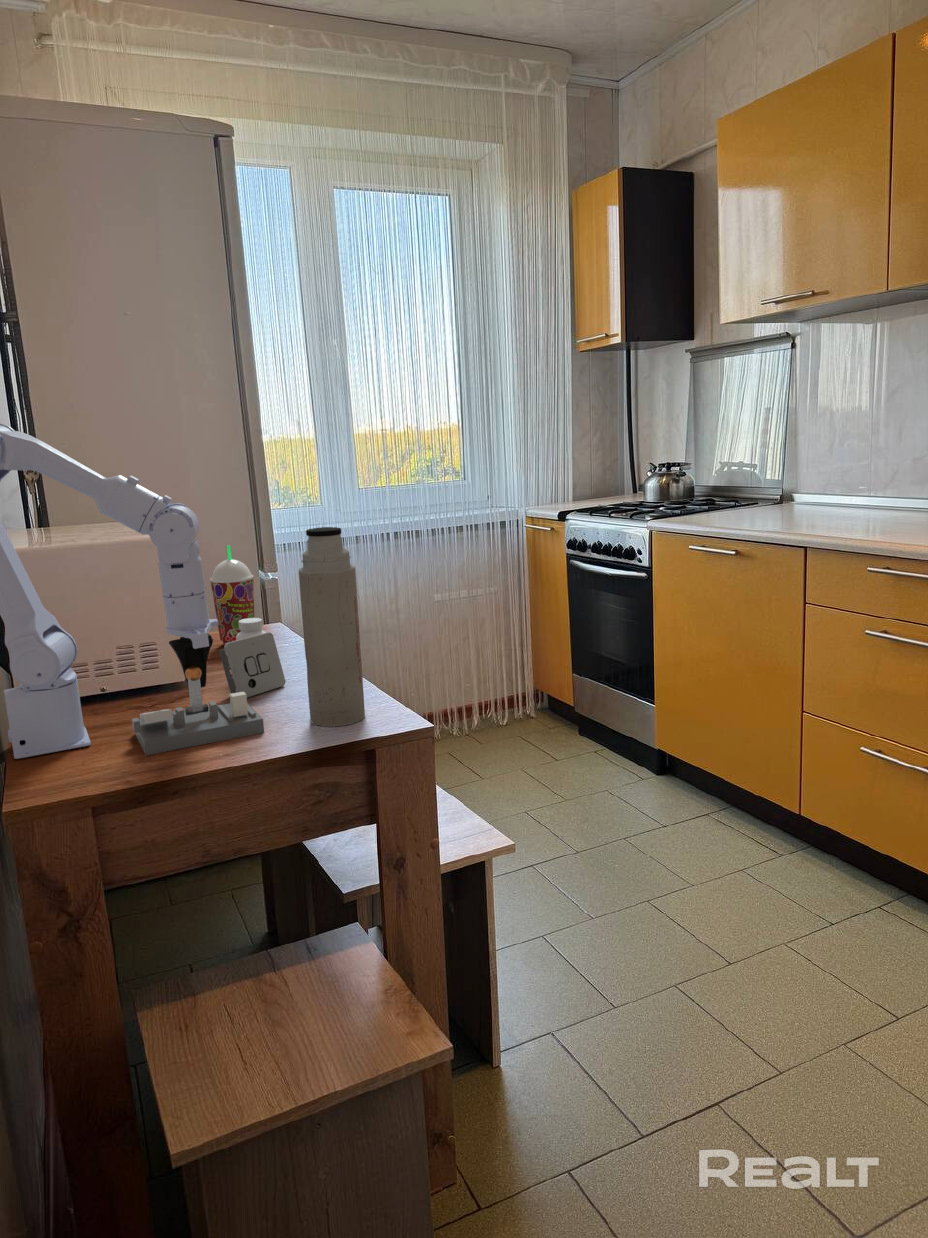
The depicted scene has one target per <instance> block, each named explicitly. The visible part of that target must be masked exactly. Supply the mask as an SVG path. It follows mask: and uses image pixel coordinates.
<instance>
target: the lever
mask: <svg viewBox="0 0 928 1238" xmlns="http://www.w3.org/2000/svg"><path fill="white" fill-rule="evenodd" d="M201 675H202V671H201V669H200V668H199V667H198V666H194V665H193V666H190V667H188V668H187V669H186V671H185V676H186V678H187V679H188V684H187V687H188V696H189V706H185V707H184V711H185V713H186V716H188V715H193V714H199V713H204V712H208V707H209V704H208V703H203V696H202V687H201V684H200V677H201ZM185 676H184V677H185Z"/></svg>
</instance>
